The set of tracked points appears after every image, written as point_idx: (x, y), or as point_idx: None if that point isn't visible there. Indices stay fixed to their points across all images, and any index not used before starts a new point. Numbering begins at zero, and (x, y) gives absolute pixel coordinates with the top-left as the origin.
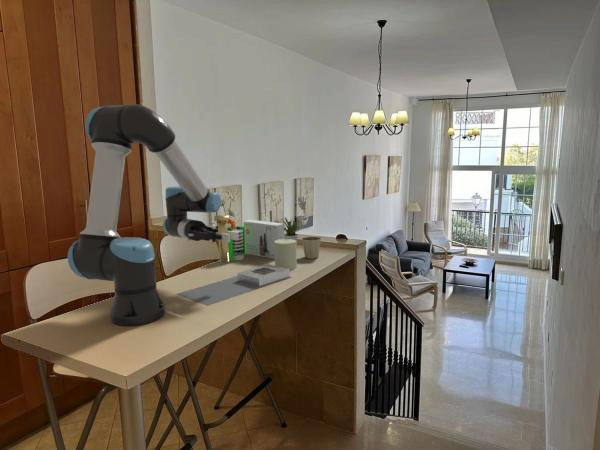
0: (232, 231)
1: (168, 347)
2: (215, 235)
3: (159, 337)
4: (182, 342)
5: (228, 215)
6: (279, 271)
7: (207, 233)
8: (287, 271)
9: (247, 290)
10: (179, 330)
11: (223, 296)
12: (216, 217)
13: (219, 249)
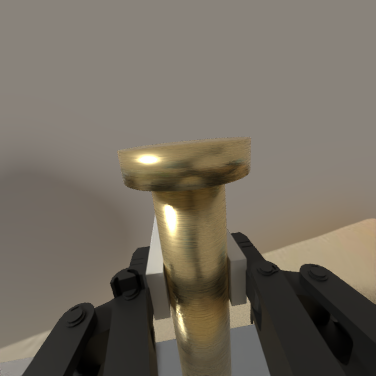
0: (156, 231)
1: (346, 234)
2: (257, 251)
3: (373, 255)
4: (329, 236)
5: (124, 149)
6: (26, 367)
7: (321, 269)
8: (5, 365)
9: (175, 351)
10: (344, 259)
11: (251, 352)
12: (241, 137)
13: (230, 340)
